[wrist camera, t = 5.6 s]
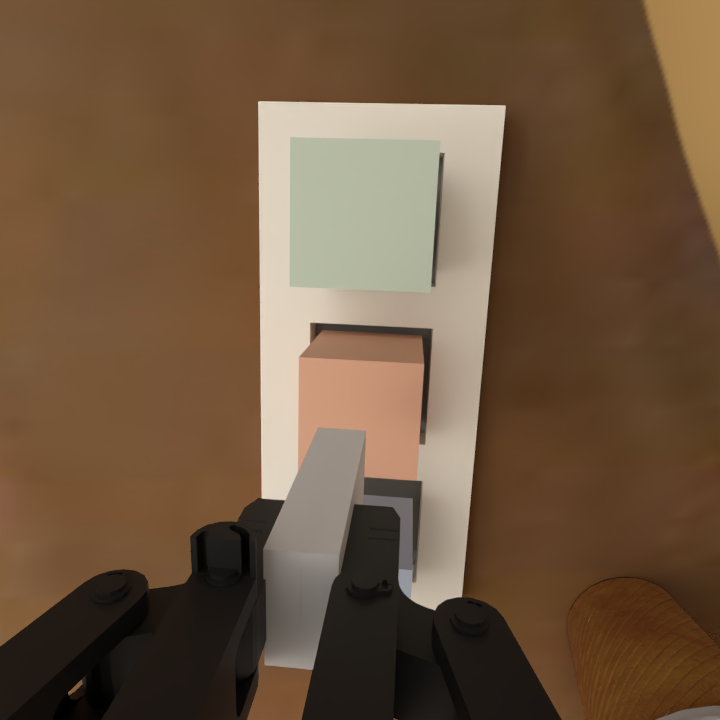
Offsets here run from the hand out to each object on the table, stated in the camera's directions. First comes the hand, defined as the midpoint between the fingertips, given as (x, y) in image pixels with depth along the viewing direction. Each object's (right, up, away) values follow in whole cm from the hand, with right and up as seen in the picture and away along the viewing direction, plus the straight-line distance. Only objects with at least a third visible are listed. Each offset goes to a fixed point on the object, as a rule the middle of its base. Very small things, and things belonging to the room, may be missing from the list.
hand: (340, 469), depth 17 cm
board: (+1, +3, +12) cm, 13 cm away
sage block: (+1, +10, +7) cm, 12 cm away
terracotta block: (+1, +2, +11) cm, 11 cm away
